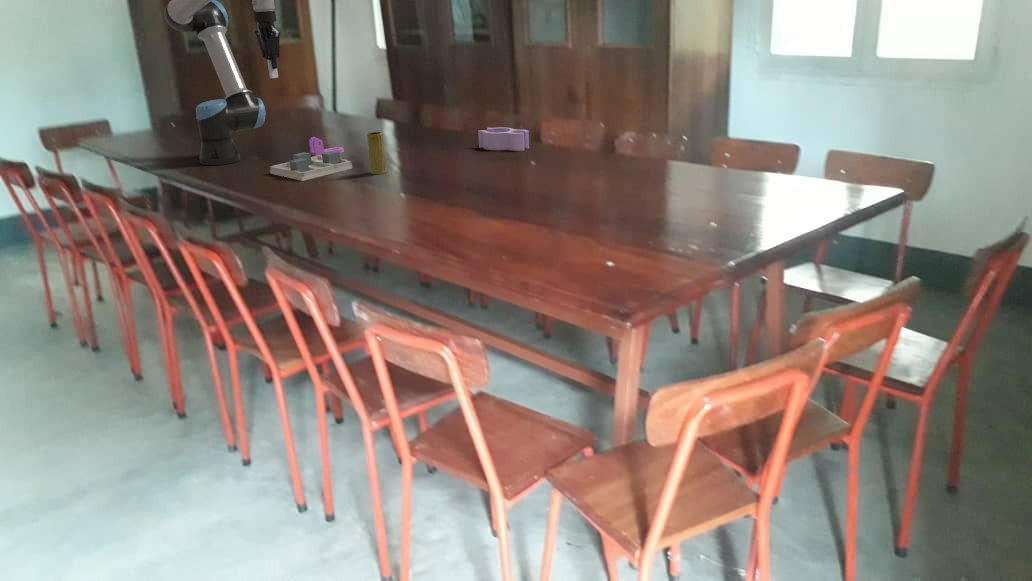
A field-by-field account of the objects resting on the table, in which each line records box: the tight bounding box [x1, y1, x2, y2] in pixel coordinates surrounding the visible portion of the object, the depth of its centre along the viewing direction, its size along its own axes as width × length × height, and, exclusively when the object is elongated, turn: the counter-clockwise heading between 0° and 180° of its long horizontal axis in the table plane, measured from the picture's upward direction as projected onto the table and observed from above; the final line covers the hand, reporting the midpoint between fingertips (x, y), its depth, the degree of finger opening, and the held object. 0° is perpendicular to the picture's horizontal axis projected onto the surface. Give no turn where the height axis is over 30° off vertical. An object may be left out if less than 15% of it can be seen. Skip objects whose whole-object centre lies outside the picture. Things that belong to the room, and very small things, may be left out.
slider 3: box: [322, 151, 341, 164], centre depth 297 cm, size 4×5×4 cm
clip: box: [477, 126, 530, 152], centre depth 320 cm, size 20×12×7 cm, turn 60°
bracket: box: [308, 136, 345, 157], centre depth 323 cm, size 13×6×7 cm, turn 125°
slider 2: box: [288, 158, 309, 172], centre depth 287 cm, size 4×5×4 cm
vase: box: [366, 131, 388, 175], centre depth 286 cm, size 6×6×14 cm
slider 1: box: [292, 151, 312, 165], centre depth 297 cm, size 4×5×4 cm
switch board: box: [269, 155, 353, 182], centre depth 295 cm, size 20×22×3 cm
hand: (274, 77), depth 296 cm, fingers closed
